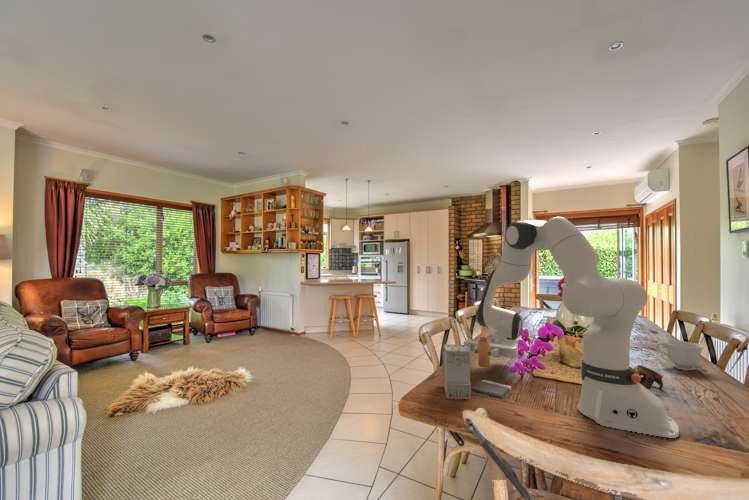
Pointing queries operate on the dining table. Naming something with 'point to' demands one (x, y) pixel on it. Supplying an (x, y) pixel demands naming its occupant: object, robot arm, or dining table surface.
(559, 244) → the robot arm
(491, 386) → the tag pad
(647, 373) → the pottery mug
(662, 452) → the dining table surface
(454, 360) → the circuit breaker
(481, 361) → the lockout cap
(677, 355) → the teacup
